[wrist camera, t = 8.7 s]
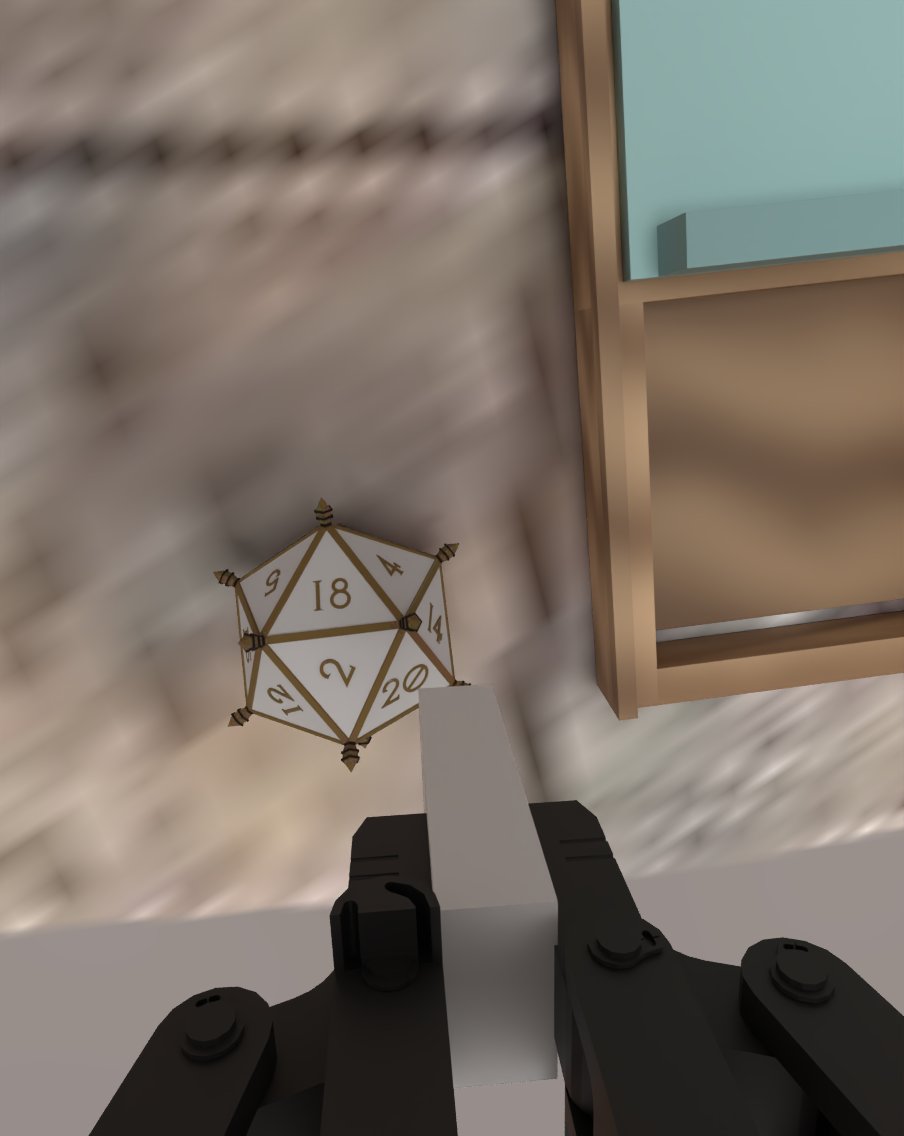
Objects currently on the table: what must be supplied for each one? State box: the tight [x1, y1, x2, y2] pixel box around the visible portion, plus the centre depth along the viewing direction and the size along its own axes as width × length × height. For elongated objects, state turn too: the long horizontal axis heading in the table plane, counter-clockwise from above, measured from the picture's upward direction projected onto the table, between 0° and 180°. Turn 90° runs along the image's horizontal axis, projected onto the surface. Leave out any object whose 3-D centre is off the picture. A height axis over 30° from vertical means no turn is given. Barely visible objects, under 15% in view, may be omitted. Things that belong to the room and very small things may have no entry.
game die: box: [213, 498, 471, 772], centre depth 27 cm, size 9×8×10 cm
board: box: [555, 0, 904, 721], centre depth 27 cm, size 30×15×3 cm, turn 6°
